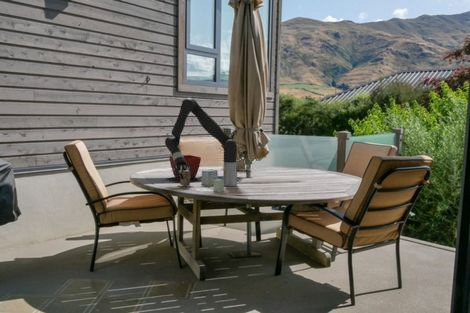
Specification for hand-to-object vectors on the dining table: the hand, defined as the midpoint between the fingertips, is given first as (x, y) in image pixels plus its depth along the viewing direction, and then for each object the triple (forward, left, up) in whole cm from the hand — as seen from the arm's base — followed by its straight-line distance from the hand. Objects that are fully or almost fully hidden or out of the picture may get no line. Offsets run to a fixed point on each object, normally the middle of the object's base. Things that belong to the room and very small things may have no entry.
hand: (186, 178), depth 299 cm
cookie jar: (-84, -64, -7) cm, 106 cm away
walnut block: (0, -2, -5) cm, 5 cm away
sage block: (-13, +22, -6) cm, 27 cm away
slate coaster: (0, -2, -6) cm, 7 cm away
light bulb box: (-21, -4, -7) cm, 22 cm away
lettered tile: (-6, +14, -6) cm, 17 cm away
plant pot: (-19, -40, -7) cm, 45 cm away
